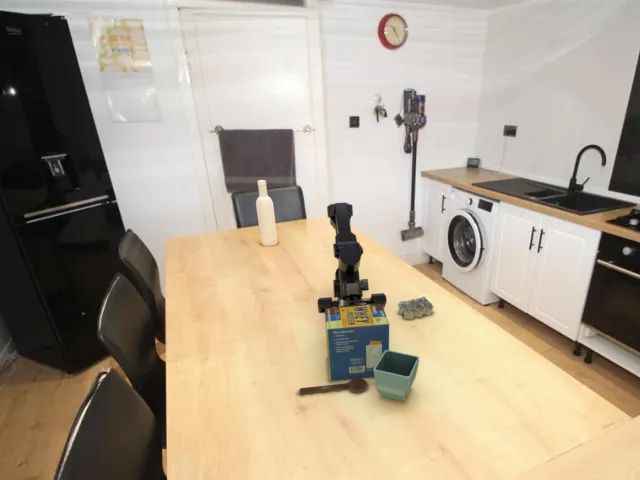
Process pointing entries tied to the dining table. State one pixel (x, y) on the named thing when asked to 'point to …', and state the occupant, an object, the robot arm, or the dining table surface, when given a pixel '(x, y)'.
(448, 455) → the dining table surface
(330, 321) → the protein box
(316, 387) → the wooden spoon
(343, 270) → the robot arm
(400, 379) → the flower pot
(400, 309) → the egg carton
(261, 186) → the bottle
